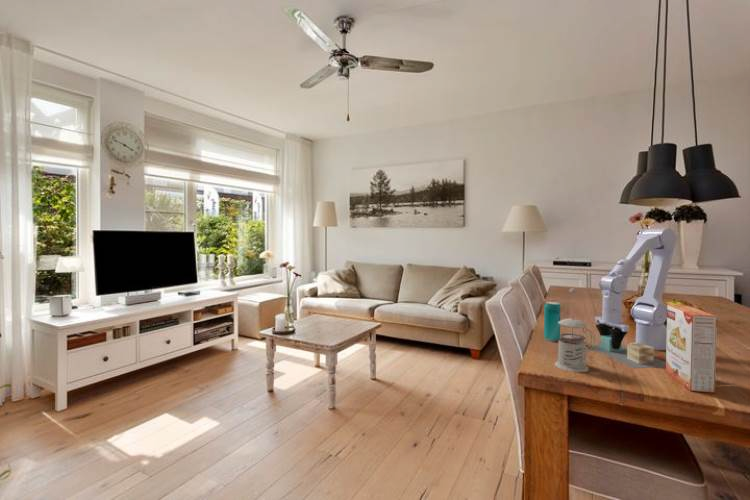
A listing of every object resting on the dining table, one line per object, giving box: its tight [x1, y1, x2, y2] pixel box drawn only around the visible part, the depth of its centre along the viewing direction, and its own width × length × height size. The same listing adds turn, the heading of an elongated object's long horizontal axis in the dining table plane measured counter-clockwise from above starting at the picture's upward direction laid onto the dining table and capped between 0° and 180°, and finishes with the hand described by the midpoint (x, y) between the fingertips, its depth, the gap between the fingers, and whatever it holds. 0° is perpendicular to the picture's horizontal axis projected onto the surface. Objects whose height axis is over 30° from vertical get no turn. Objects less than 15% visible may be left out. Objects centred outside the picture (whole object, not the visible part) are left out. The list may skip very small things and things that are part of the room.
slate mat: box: [586, 344, 666, 369], centre depth 126 cm, size 14×23×1 cm, turn 5°
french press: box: [554, 287, 596, 373], centre depth 116 cm, size 10×12×25 cm
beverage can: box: [543, 301, 562, 342], centre depth 145 cm, size 6×6×15 cm
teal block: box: [600, 335, 622, 352], centre depth 133 cm, size 4×4×4 cm
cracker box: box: [665, 304, 718, 394], centre depth 103 cm, size 14×6×21 cm, turn 163°
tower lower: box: [627, 351, 655, 364], centre depth 121 cm, size 5×5×2 cm
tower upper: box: [626, 342, 655, 356], centre depth 121 cm, size 5×5×2 cm
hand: (610, 346), depth 133 cm, fingers closed on teal block, 4 cm apart
